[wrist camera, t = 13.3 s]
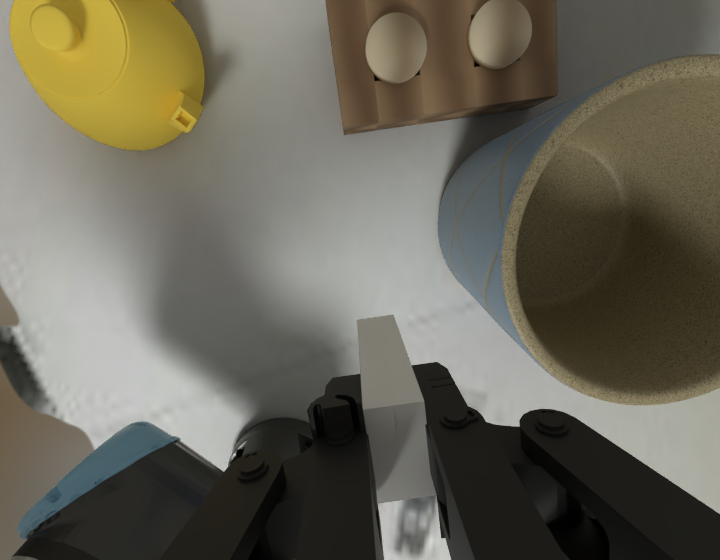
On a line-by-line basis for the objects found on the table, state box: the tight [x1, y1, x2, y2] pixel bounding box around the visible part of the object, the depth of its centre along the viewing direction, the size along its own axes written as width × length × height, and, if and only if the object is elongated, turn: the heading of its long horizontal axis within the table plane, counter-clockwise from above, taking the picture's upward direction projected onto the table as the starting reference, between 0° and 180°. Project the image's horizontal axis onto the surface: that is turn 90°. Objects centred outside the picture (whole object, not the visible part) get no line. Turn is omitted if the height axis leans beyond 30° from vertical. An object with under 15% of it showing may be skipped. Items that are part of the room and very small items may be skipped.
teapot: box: [10, 0, 205, 151], centre depth 36 cm, size 20×19×13 cm
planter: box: [438, 54, 720, 405], centre depth 36 cm, size 23×23×24 cm
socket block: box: [326, 0, 558, 135], centre depth 40 cm, size 22×12×6 cm, turn 98°
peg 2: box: [467, 0, 532, 70], centre depth 39 cm, size 6×6×7 cm
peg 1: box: [365, 12, 427, 84], centre depth 39 cm, size 6×6×7 cm
